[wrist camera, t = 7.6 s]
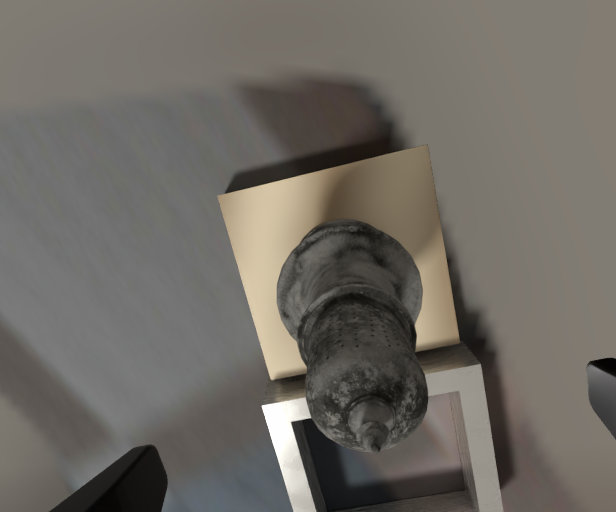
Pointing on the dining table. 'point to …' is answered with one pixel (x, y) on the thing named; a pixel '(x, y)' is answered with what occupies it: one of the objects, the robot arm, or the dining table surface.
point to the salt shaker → (356, 333)
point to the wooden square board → (332, 206)
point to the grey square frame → (440, 379)
